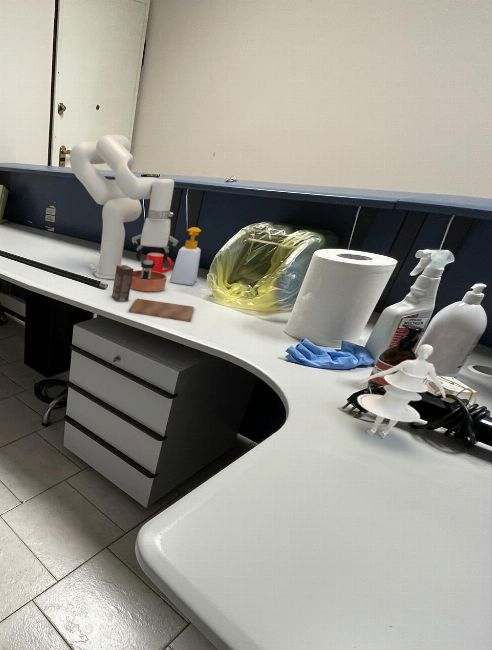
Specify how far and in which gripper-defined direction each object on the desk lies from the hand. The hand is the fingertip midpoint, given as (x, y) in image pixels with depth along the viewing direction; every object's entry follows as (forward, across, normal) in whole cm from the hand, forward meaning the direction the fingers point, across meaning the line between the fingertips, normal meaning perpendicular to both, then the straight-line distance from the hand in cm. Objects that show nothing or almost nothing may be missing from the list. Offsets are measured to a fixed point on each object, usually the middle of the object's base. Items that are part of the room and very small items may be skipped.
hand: (151, 261), depth 162 cm
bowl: (+10, +1, 0) cm, 11 cm away
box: (+11, +7, +20) cm, 23 cm away
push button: (+10, +1, 0) cm, 10 cm away
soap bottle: (+11, -12, -13) cm, 21 cm away
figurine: (+13, -59, +81) cm, 101 cm away
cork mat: (+11, -9, +26) cm, 29 cm away
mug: (+10, 0, -26) cm, 28 cm away
